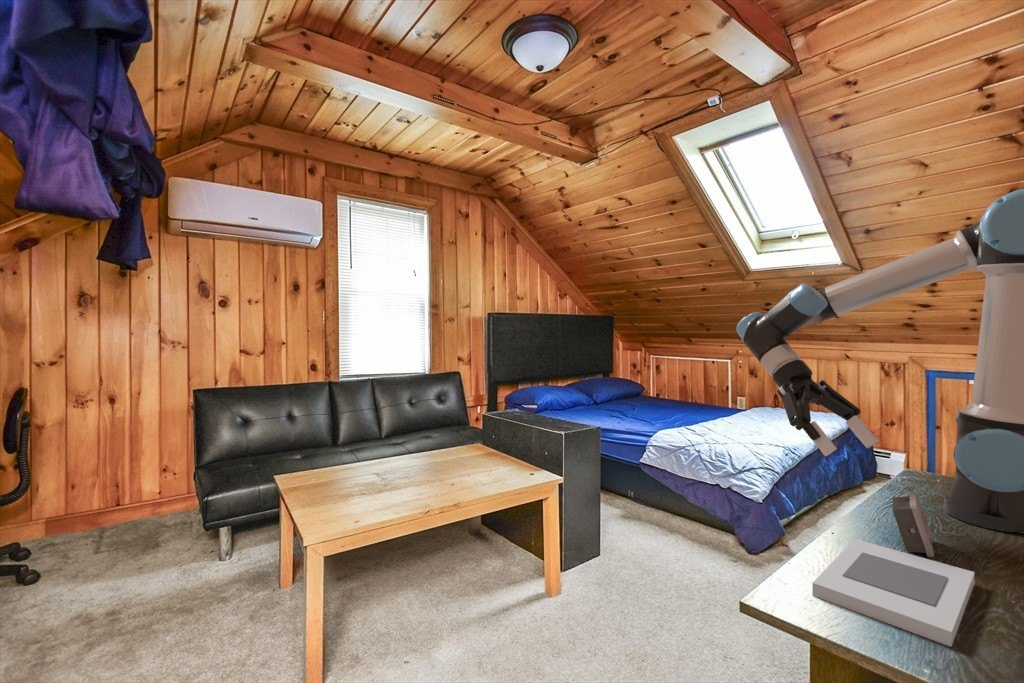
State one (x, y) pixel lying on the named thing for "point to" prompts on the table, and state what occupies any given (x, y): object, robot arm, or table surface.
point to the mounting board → (898, 589)
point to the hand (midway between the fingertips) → (852, 448)
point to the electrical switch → (912, 524)
